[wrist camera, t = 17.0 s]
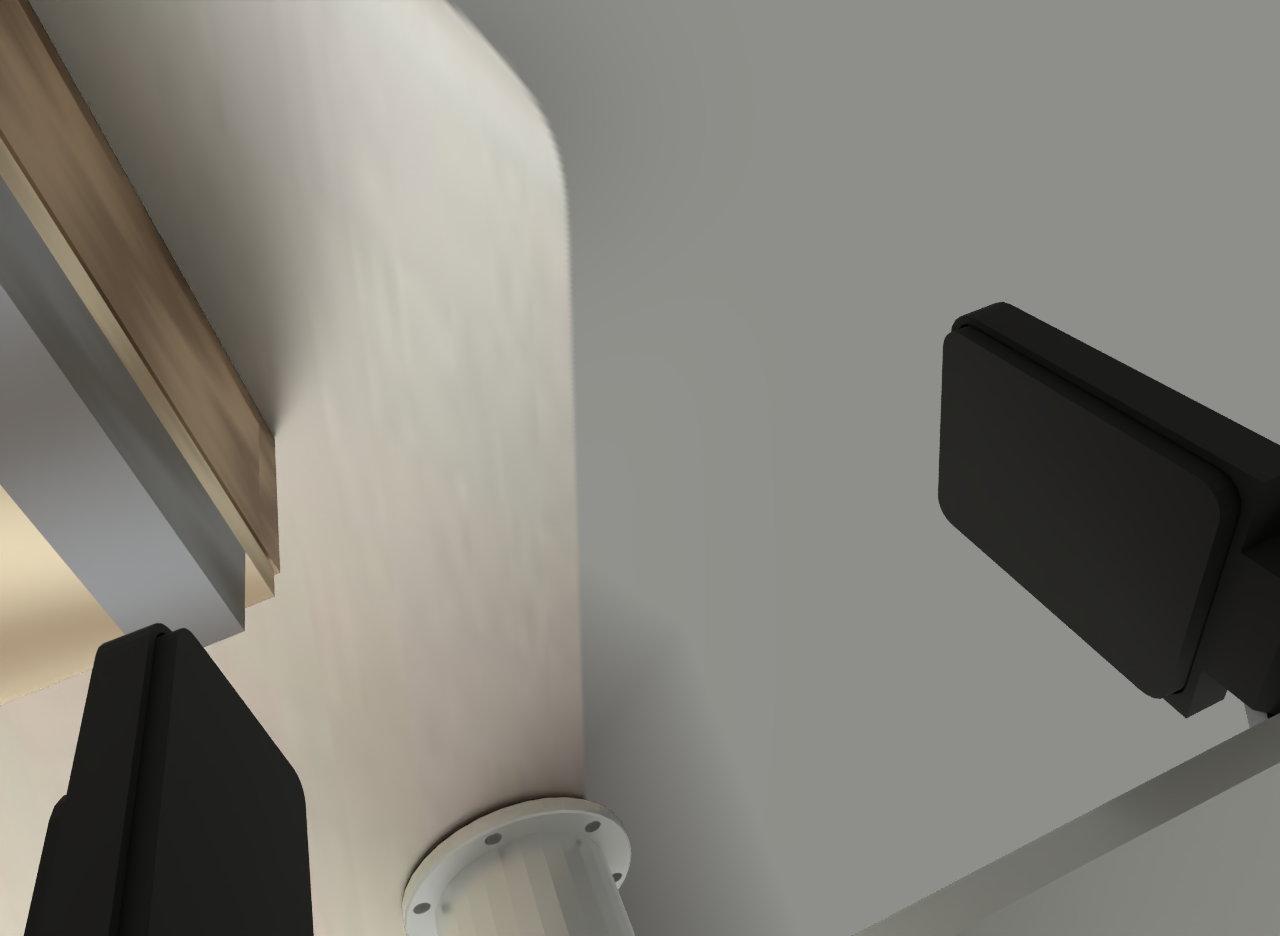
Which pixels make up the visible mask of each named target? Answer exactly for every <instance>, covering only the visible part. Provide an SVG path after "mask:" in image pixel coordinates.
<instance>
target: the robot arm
mask: <svg viewBox="0 0 1280 936" xmlns="http://www.w3.org/2000/svg"><path fill="white" fill-rule="evenodd" d="M938 499H939V504H940V507H941V509H942V512H943V514H944V515H945V517H946V518H947V519H948V521H949V522H950V523H951V524H952V525H953V526H954V527H956V528H957V529H958V530H959V531H960V532H961V533H962V534H964V535H965V536H966V537H967V538H968V539H969V540H970V541H972V542H973V543H974V544H975V545H976V546H977V547H978V548H980V549H981V550H982V551H983V552H984V553H985V554H986V555H987V556H989V557H990V558H991V559H992V560H993V561H994V562H996V563H997V564H998V565H999V566H1000V567H1001V568H1002V569H1003V570H1004V571H1006V572H1007V573H1008V574H1009V575H1010V576H1012V578H1014V579H1015V580H1016V581H1017V582H1018V583H1019V584H1021V585H1022V586H1023V587H1024V588H1025V589H1026V590H1027V591H1028V592H1029V593H1031V594H1032V595H1033V596H1034V597H1035V598H1036V599H1038V600H1039V601H1040V602H1041V603H1042V604H1043V605H1044V606H1045V607H1047V608H1048V609H1049V610H1050V611H1051V612H1052V613H1053V614H1055V615H1056V616H1057V617H1058V618H1059V619H1060V620H1061V621H1062V622H1064V623H1065V624H1066V625H1067V626H1068V627H1069V628H1070V629H1072V630H1073V631H1074V632H1075V633H1076V634H1077V635H1078V636H1080V637H1081V638H1082V639H1083V640H1084V641H1085V642H1086V643H1087V644H1089V645H1090V646H1091V647H1092V648H1093V649H1094V650H1096V651H1097V652H1098V653H1099V654H1100V655H1101V656H1102V657H1103V658H1104V659H1106V660H1107V661H1108V662H1109V663H1110V664H1111V665H1112V666H1114V667H1115V668H1116V669H1117V670H1118V671H1119V672H1120V673H1122V674H1123V675H1124V676H1125V677H1126V678H1127V679H1128V680H1129V681H1131V682H1132V683H1133V684H1134V685H1135V686H1136V687H1137V688H1139V689H1140V690H1141V691H1142V692H1144V693H1145V694H1147V695H1148V696H1151V697H1153V698H1159V699H1161V698H1164V700H1166V701H1167V702H1168V703H1169V704H1170V705H1171V706H1172V707H1174V708H1175V709H1176V710H1177V711H1178V712H1179V713H1181V714H1182V715H1183V716H1184V717H1185V718H1188V717H1190V716H1192V715H1194V714H1196V713H1198V712H1200V711H1201V710H1203V709H1205V708H1207V707H1209V706H1211V705H1213V704H1215V703H1217V702H1219V701H1221V700H1223V699H1224V697H1225V695H1226V692H1227V690H1229V691H1230V692H1231V693H1232V694H1234V695H1235V696H1236V697H1237V698H1239V699H1240V700H1241V701H1242V702H1243V703H1244V705H1245V710H1246V714H1247V718H1248V723H1249V727H1250V729H1248V730H1246V731H1244V732H1242V733H1240V734H1238V735H1236V736H1234V737H1232V738H1230V739H1228V740H1227V741H1224V742H1223V743H1221V744H1219V745H1217V746H1215V747H1213V748H1211V749H1209V750H1207V751H1205V752H1203V753H1202V754H1199V755H1198V756H1195V757H1194V758H1192V759H1190V760H1188V761H1186V762H1184V763H1182V764H1180V765H1178V766H1176V767H1174V768H1172V769H1171V770H1169V771H1167V772H1165V773H1163V774H1161V775H1159V776H1157V777H1155V778H1153V779H1151V780H1149V781H1147V782H1145V783H1143V784H1141V785H1139V786H1138V787H1136V788H1134V789H1132V790H1130V791H1128V792H1126V793H1124V794H1122V795H1120V796H1118V797H1116V798H1114V799H1112V800H1111V801H1109V802H1107V803H1105V804H1103V805H1101V806H1099V807H1097V808H1095V809H1093V810H1091V811H1089V812H1088V813H1085V814H1083V815H1082V816H1080V817H1078V818H1076V819H1074V820H1072V821H1070V822H1068V823H1066V824H1064V825H1062V826H1060V827H1059V828H1056V829H1055V830H1053V831H1051V832H1049V833H1047V834H1045V835H1043V836H1041V837H1039V838H1038V839H1036V840H1034V841H1032V842H1030V843H1028V844H1026V845H1024V846H1022V847H1020V848H1018V849H1016V850H1015V851H1013V852H1011V853H1009V854H1007V855H1005V856H1003V857H1001V858H999V859H997V860H995V861H994V862H992V863H990V864H988V865H986V866H984V867H982V868H980V869H978V870H976V871H974V872H972V873H971V874H969V875H967V876H965V877H963V878H961V879H959V880H957V881H955V882H953V883H952V884H950V885H948V886H946V887H944V888H942V889H940V890H938V891H936V892H935V893H933V894H931V895H929V896H927V897H925V898H923V899H921V900H919V901H917V902H915V903H913V904H912V905H910V906H908V907H906V908H904V909H902V910H900V911H898V912H896V913H894V914H892V915H890V916H889V917H887V918H885V919H883V920H881V921H879V922H877V923H875V924H873V925H872V926H870V927H868V928H866V929H864V930H862V931H860V932H858V933H856V934H854V935H853V936H1280V445H1278V444H1276V443H1274V442H1272V441H1271V440H1269V439H1267V438H1265V437H1263V436H1261V435H1259V434H1257V433H1255V432H1253V431H1252V430H1250V429H1248V428H1246V427H1244V426H1242V425H1240V424H1238V423H1236V422H1234V421H1232V420H1231V419H1228V418H1227V417H1225V416H1223V415H1221V414H1219V413H1217V412H1215V411H1213V410H1211V409H1209V408H1207V407H1206V406H1204V405H1202V404H1200V403H1198V402H1196V401H1194V400H1192V399H1190V398H1188V397H1186V396H1185V395H1183V394H1181V393H1179V392H1177V391H1175V390H1173V389H1171V388H1169V387H1167V386H1165V385H1164V384H1162V383H1160V382H1158V381H1156V380H1154V379H1152V378H1150V377H1148V376H1146V375H1144V374H1143V373H1141V372H1139V371H1137V370H1135V369H1133V368H1131V367H1129V366H1127V365H1125V364H1123V363H1121V362H1120V361H1118V360H1116V359H1114V358H1112V357H1110V356H1108V355H1106V354H1104V353H1102V352H1101V351H1099V350H1096V349H1095V348H1093V347H1091V346H1089V345H1087V344H1085V343H1083V342H1081V341H1080V340H1078V339H1076V338H1073V337H1072V336H1070V335H1068V334H1066V333H1064V332H1062V331H1060V330H1058V329H1057V328H1055V327H1053V326H1051V325H1049V324H1047V323H1045V322H1043V321H1041V320H1039V319H1037V318H1036V317H1034V316H1032V315H1030V314H1028V313H1026V312H1024V311H1022V310H1020V309H1018V308H1016V307H1015V306H1013V305H1011V304H1007V303H1005V302H999V303H995V304H992V305H989V306H987V307H984V308H981V309H979V310H976V311H974V312H971V313H968V314H966V315H963V316H961V317H959V318H958V319H956V320H955V322H954V324H953V326H952V331H951V333H949V334H948V335H947V336H946V337H945V340H944V344H943V365H942V395H941V424H940V454H939V484H938ZM630 861H631V846H630V842H629V838H628V836H627V834H626V831H625V829H624V827H623V824H622V822H621V821H620V820H619V818H618V817H617V816H616V815H615V814H614V813H613V812H612V811H610V810H609V809H607V808H606V807H604V806H602V805H600V804H597V803H594V802H591V801H588V800H585V799H577V798H568V797H559V798H543V799H537V800H531V801H525V802H522V803H518V804H515V805H512V806H508V807H505V808H502V809H499V810H497V811H495V812H492V813H490V814H488V815H485V816H483V817H481V818H479V819H477V820H475V821H473V822H472V823H470V824H468V825H466V826H465V827H463V828H461V829H459V830H458V831H457V832H455V833H454V834H452V835H451V836H450V837H448V838H447V839H446V840H444V841H443V842H442V843H440V844H439V845H438V846H437V847H436V848H435V849H434V850H433V851H432V852H431V853H430V854H429V855H428V856H427V857H426V858H425V859H424V860H423V862H422V863H421V864H420V866H419V867H418V868H417V870H416V871H415V872H414V874H413V875H412V877H411V879H410V881H409V883H408V885H407V888H406V890H405V893H404V898H403V903H402V909H403V918H404V927H405V930H406V933H407V936H635V935H634V932H633V929H632V926H631V924H630V921H629V919H628V916H627V913H626V910H625V908H624V905H623V903H622V900H621V897H620V895H619V892H618V889H619V888H620V886H621V884H622V882H623V881H624V879H625V877H626V874H627V871H628V869H629V866H630ZM24 936H314V933H313V917H312V901H311V885H310V868H309V852H308V836H307V820H306V804H305V796H304V792H303V788H302V785H301V782H300V780H299V777H298V775H297V773H296V772H295V770H294V769H293V767H292V766H291V765H290V763H289V762H288V760H287V759H286V758H285V756H284V755H283V754H282V752H281V751H280V750H279V748H278V747H277V746H276V744H275V743H274V742H273V740H272V739H271V738H270V736H269V735H268V734H267V732H266V731H265V730H264V728H263V727H262V726H261V724H260V723H259V722H258V720H257V719H256V718H255V716H254V715H253V714H252V712H251V711H250V709H249V708H248V707H247V705H246V704H245V703H244V701H243V700H242V699H241V697H240V696H239V695H238V693H237V692H236V691H235V689H234V688H233V687H232V685H231V684H230V683H229V681H228V680H227V679H226V677H225V676H224V675H223V673H222V672H221V671H220V669H219V668H218V667H217V665H216V664H215V663H214V661H213V660H212V658H211V657H210V656H209V654H208V653H207V652H206V650H205V649H204V648H203V646H202V645H201V644H200V642H199V641H198V640H197V638H196V637H195V636H194V635H193V633H192V632H191V631H190V630H188V629H186V628H180V629H178V630H175V631H173V632H172V631H171V630H170V629H169V628H168V627H167V626H165V625H164V624H162V623H155V624H152V625H150V626H147V627H145V628H142V629H139V630H137V631H134V632H131V633H129V634H126V635H124V636H121V637H118V638H116V639H113V640H110V641H108V642H105V643H103V644H102V645H101V646H99V647H98V650H97V652H96V655H95V660H94V665H93V669H92V674H91V679H90V684H89V689H88V694H87V698H86V703H85V708H84V713H83V718H82V723H81V727H80V732H79V737H78V742H77V747H76V752H75V756H74V761H73V766H72V771H71V776H70V781H69V785H68V790H67V795H64V796H63V797H62V798H61V799H60V800H59V801H58V803H57V804H56V805H55V806H54V809H53V812H52V814H51V817H50V820H49V823H48V828H47V833H46V837H45V842H44V846H43V851H42V855H41V860H40V864H39V869H38V873H37V878H36V883H35V887H34V892H33V896H32V901H31V905H30V910H29V914H28V919H27V923H26V928H25V933H24Z"/></svg>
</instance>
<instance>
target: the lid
mask: <svg viewBox="0 0 1280 936" xmlns="http://www.w3.org/2000/svg"><path fill="white" fill-rule="evenodd" d="M274 596H275V595H274V569H273V567H272V565H271V564H270V562H269V561H268V559H267V557H266V556H265V554H264V553H263V551H262V550H261V548H260V546H259V545H258V543H257V542H256V540H255V539H254V537H253V535H252V534H251V532H250V531H249V529H248V527H247V526H246V524H245V523H244V521H243V520H242V518H241V516H240V515H239V513H238V512H237V510H236V509H235V507H234V505H233V504H232V502H231V501H230V499H229V497H228V496H227V494H226V493H225V491H224V490H223V488H222V486H221V485H220V483H219V482H218V480H217V479H216V477H215V475H214V474H213V472H212V471H211V469H210V467H209V466H208V464H207V463H206V461H205V460H204V458H203V456H202V455H201V453H200V452H199V450H198V449H197V447H196V445H195V444H194V442H193V441H192V439H191V437H190V436H189V434H188V433H187V431H186V430H185V428H184V426H183V425H182V423H181V422H180V420H179V418H178V417H177V415H176V414H175V412H174V411H173V409H172V407H171V406H170V404H169V403H168V401H167V400H166V398H165V396H164V395H163V393H162V392H161V390H160V388H159V387H158V385H157V384H156V382H155V381H154V379H153V377H152V376H151V374H150V373H149V371H148V370H147V368H146V366H145V365H144V363H143V362H142V360H141V358H140V357H139V355H138V354H137V352H136V351H135V349H134V347H133V346H132V344H131V343H130V341H129V340H128V338H127V336H126V335H125V333H124V332H123V330H122V328H121V327H120V325H119V324H118V322H117V321H116V319H115V317H114V316H113V314H112V313H111V311H110V310H109V308H108V306H107V305H106V303H105V302H104V300H103V298H102V297H101V295H100V294H99V292H98V291H97V289H96V287H95V286H94V284H93V283H92V281H91V280H90V278H89V276H88V275H87V273H86V272H85V270H84V268H83V267H82V265H81V264H80V262H79V261H78V259H77V257H76V256H75V254H74V253H73V251H72V250H71V248H70V246H69V245H68V243H67V242H66V240H65V238H64V237H63V235H62V234H61V232H60V231H59V229H58V227H57V226H56V224H55V223H54V221H53V220H52V218H51V216H50V215H49V213H48V212H47V210H46V208H45V207H44V205H43V204H42V202H41V201H40V199H39V197H38V196H37V194H36V193H35V191H34V190H33V188H32V186H31V185H30V183H29V182H28V180H27V178H26V177H25V175H24V174H23V172H22V171H21V169H20V167H19V166H18V164H17V163H16V161H15V160H14V158H13V156H12V155H11V153H10V152H9V150H8V148H7V147H6V145H5V144H4V142H3V141H2V139H1V137H0V705H2V704H5V703H7V702H10V701H12V700H15V699H17V698H20V697H22V696H25V695H27V694H30V693H32V692H35V691H37V690H40V689H42V688H45V687H47V686H50V685H52V684H55V683H58V682H60V681H63V680H65V679H68V678H70V677H73V676H75V675H78V674H80V673H83V672H85V671H88V670H90V669H93V665H94V660H95V655H96V652H97V650H98V647H99V646H101V645H102V644H103V643H105V642H108V641H110V640H113V639H116V638H118V637H121V636H124V635H126V634H129V633H131V632H134V631H137V630H139V629H142V628H145V627H147V626H150V625H152V624H155V623H162V624H164V625H165V626H167V627H168V628H169V629H170V630H171V631H172V632H173V631H175V630H178V629H180V628H186V629H188V630H190V631H191V632H192V633H193V635H194V636H195V637H196V638H197V640H198V641H199V642H200V644H201V645H202V646H203V647H206V646H208V645H211V644H213V643H216V642H218V641H221V640H223V639H226V638H228V637H231V636H233V635H236V634H238V633H241V632H243V631H245V608H247V607H249V606H252V605H254V604H257V603H259V602H262V601H264V600H267V599H269V598H272V597H274Z"/></svg>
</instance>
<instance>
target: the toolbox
mask: <svg viewBox="0 0 1280 936" xmlns="http://www.w3.org/2000/svg"><path fill="white" fill-rule="evenodd" d="M0 137H1V139H2V141H3V142H4V144H5V145H6V147H7V148H8V150H9V152H10V153H11V155H12V156H13V158H14V160H15V161H16V163H17V164H18V166H19V167H20V169H21V171H22V172H23V174H24V175H25V177H26V178H27V180H28V182H29V183H30V185H31V186H32V188H33V190H34V191H35V193H36V194H37V196H38V197H39V199H40V201H41V202H42V204H43V205H44V207H45V208H46V210H47V212H48V213H49V215H50V216H51V218H52V220H53V221H54V223H55V224H56V226H57V227H58V229H59V231H60V232H61V234H62V235H63V237H64V238H65V240H66V242H67V243H68V245H69V246H70V248H71V250H72V251H73V253H74V254H75V256H76V257H77V259H78V261H79V262H80V264H81V265H82V267H83V268H84V270H85V272H86V273H87V275H88V276H89V278H90V280H91V281H92V283H93V284H94V286H95V287H96V289H97V291H98V292H99V294H100V295H101V297H102V298H103V300H104V302H105V303H106V305H107V306H108V308H109V310H110V311H111V313H112V314H113V316H114V317H115V319H116V321H117V322H118V324H119V325H120V327H121V328H122V330H123V332H124V333H125V335H126V336H127V338H128V340H129V341H130V343H131V344H132V346H133V347H134V349H135V351H136V352H137V354H138V355H139V357H140V358H141V360H142V362H143V363H144V365H145V366H146V368H147V370H148V371H149V373H150V374H151V376H152V377H153V379H154V381H155V382H156V384H157V385H158V387H159V388H160V390H161V392H162V393H163V395H164V396H165V398H166V400H167V401H168V403H169V404H170V406H171V407H172V409H173V411H174V412H175V414H176V415H177V417H178V418H179V420H180V422H181V423H182V425H183V426H184V428H185V430H186V431H187V433H188V434H189V436H190V437H191V439H192V441H193V442H194V444H195V445H196V447H197V449H198V450H199V452H200V453H201V455H202V456H203V458H204V460H205V461H206V463H207V464H208V466H209V467H210V469H211V471H212V472H213V474H214V475H215V477H216V479H217V480H218V482H219V483H220V485H221V486H222V488H223V490H224V491H225V493H226V494H227V496H228V497H229V499H230V501H231V502H232V504H233V505H234V507H235V509H236V510H237V512H238V513H239V515H240V516H241V518H242V520H243V521H244V523H245V524H246V526H247V527H248V529H249V531H250V532H251V534H252V535H253V537H254V539H255V540H256V542H257V543H258V545H259V546H260V548H261V550H262V551H263V553H264V554H265V556H266V557H267V559H268V561H269V562H270V564H271V565H272V567H273V569H274V575H275V574H278V573H280V560H279V536H278V511H277V487H276V462H275V439H274V437H273V436H272V434H271V432H270V430H269V428H268V427H267V425H266V423H265V421H264V419H263V418H262V416H261V414H260V412H259V411H258V409H257V407H256V405H255V403H254V402H253V400H252V398H251V396H250V395H249V393H248V391H247V389H246V387H245V386H244V384H243V382H242V380H241V379H240V377H239V375H238V373H237V371H236V370H235V368H234V366H233V364H232V363H231V361H230V359H229V357H228V355H227V354H226V352H225V350H224V348H223V346H222V345H221V343H220V341H219V339H218V338H217V336H216V334H215V332H214V330H213V329H212V327H211V325H210V323H209V322H208V320H207V318H206V316H205V314H204V313H203V311H202V309H201V307H200V306H199V304H198V302H197V300H196V298H195V297H194V295H193V293H192V291H191V290H190V288H189V286H188V284H187V282H186V281H185V279H184V277H183V275H182V273H181V272H180V270H179V268H178V266H177V265H176V263H175V261H174V259H173V257H172V256H171V254H170V252H169V250H168V249H167V247H166V245H165V243H164V241H163V240H162V238H161V236H160V234H159V233H158V231H157V229H156V227H155V225H154V224H153V222H152V220H151V218H150V217H149V215H148V213H147V211H146V209H145V208H144V206H143V204H142V202H141V200H140V199H139V197H138V195H137V193H136V192H135V190H134V188H133V186H132V184H131V183H130V181H129V179H128V177H127V176H126V174H125V172H124V170H123V168H122V167H121V165H120V163H119V161H118V160H117V158H116V156H115V154H114V152H113V151H112V149H111V147H110V145H109V144H108V142H107V140H106V138H105V136H104V135H103V133H102V131H101V129H100V127H99V126H98V124H97V122H96V120H95V119H94V117H93V115H92V113H91V111H90V110H89V108H88V106H87V104H86V103H85V101H84V99H83V97H82V95H81V94H80V92H79V90H78V88H77V87H76V85H75V83H74V81H73V79H72V78H71V76H70V74H69V72H68V71H67V69H66V67H65V65H64V63H63V62H62V60H61V58H60V56H59V54H58V53H57V51H56V49H55V47H54V46H53V44H52V42H51V40H50V38H49V37H48V35H47V33H46V31H45V30H44V28H43V26H42V24H41V22H40V21H39V19H38V17H37V15H36V14H35V12H34V10H33V8H32V6H31V5H30V3H29V1H28V0H0Z"/></svg>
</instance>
